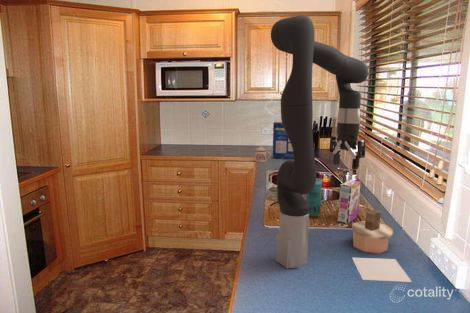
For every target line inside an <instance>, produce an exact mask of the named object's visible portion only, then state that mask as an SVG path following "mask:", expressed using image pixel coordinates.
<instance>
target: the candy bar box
mask: <svg viewBox="0 0 470 313" xmlns="http://www.w3.org/2000/svg"><path fill="white" fill-rule="evenodd" d="M361 182H362V181H359V180H354V179H349V180H347V181H345V182H343V183H340V184H339V195H338V196H339V197H338V207H337V208H338V209H337V210H338V211H337V221H336V222H339V223H343V224H346V225H349V223H351V222H353V221H354V220H355V219H357V218H358V216H359V205H360V204H359V203H360V195H361V194H360V192H361V184H362V183H361Z"/></svg>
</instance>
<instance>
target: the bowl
mask: <svg viewBox="0 0 470 313" xmlns="http://www.w3.org/2000/svg"><path fill="white" fill-rule="evenodd" d="M389 239H390V237H389V238H385V239H373V238H367V237H363V236H361V235H358V234H356V233H355V232H353V235H352V246H353V247H354V248H355V249H357V250H359V251H362V252H365V253H372V254H373V253H374V254H381V253H383V252H387V251H388V249H389V247H388V246H389V242H390V241H389Z"/></svg>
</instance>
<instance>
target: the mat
mask: <svg viewBox="0 0 470 313" xmlns="http://www.w3.org/2000/svg"><path fill="white" fill-rule="evenodd" d="M351 259H352V261H353V263H354V265H355V267H356V269H357V271H358V273H359V276H360V277H361V279H362V281H379V282H397V283H398V282H401V283H402V282H403V283H413V282H412V279H411V278H410V277H409V275H408V274H407V273H406V271H405V270H404V269H403V268H402V266H401V265H400V264H399V262H398V261H397V259H395V258H376V257H375V258H374V257H372V258H371V257H351Z"/></svg>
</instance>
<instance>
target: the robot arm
mask: <svg viewBox="0 0 470 313" xmlns="http://www.w3.org/2000/svg"><path fill="white" fill-rule="evenodd" d="M270 38H271V39H270V40H271V42H272V45H273V46H274V48H275V49H276V50H278V51H281V52H283V53H286V54H290V55H292V66H291V71H290V74H289V77H288V79H287V81H286V84H285V86H284V88H283V90H282V93H281V96H280V119H281V122H282V124H283V127H284V129H285V132H286V134H287V136H288V138H289V140H290V143H291V145H292V148H293V154H294V159H288V160H286V161H284V162H282V163H281V165H280V167H279V169H278V171H277V176H276V184H277V185H276V188H277V190H276V192H277V195H276V196H277V203H278V205H279V225H278V227H279V229H278V233H277V234H276V241H275V262H276V263H278V264H280V265H281V266H283V267H284V268H285V269H287V270H288V269H298V268H300V267H304V266H306V265H307V264H308V247H309V246H308V245H309V223H310V222H309V221H310V215H309V204H308V202H307V201H306V198H305V197H304V195H306V194H308V193H310V192H311V191H312V190H313V188H314V186H315V183H316V179H317V178H316V172H317V167H316V158H315V151H314V150H315V149H314V134H313V132H314V131H313V116H314V115H313V114H314V113H313V109H314V108H313V66H314V65H316V66H318V67H319V68H321V69H323V70H325V71H327V72H328V73H329V74H332V75H334V76H335V81H336V85H337V90H338V95H339V102H338V112H337V117H336V118H337V122H336V135H331V136H330V140H329V150H328V151H329V152H330V153H332V154H333V160H332V161H333V165H335V166H337V165H338V166H339V165H340V163H341V162H340V161H341V153H342V151H347V152H348V153H349V154H351V156H352V162H351V170H354V171H356V170H358V169H359V167H360V159H363V158H365V157H366V140H365V139H360V140H359V138H358V137H359V135H360V128H361V127H360V126H361V125H360V124H361V102H362V101H361V100H362V94H361V92H360V91H358V90H355V89H352V85H351V84H362V83H363V82H365V81H366V80H367V78H368V76H369V68H368V66H367V65H366V62H363V61H362V60H360V59H357V58H355V57H352V56H348V55H345V54H344V53H343V52H342V51H340V50H339V49H337V48H335V47H334V46H331V45H328V44H326V43H322V42H319V41H316V40H315V27H314V23H313V21H312V19H311V18H310V16H308V15H306V14H302V15H301V14H299V15H295V16H290V17H286V18H282V19H279V20H277V21H276V22H275V23H274V24H273V25H272V27H271V31H270ZM313 64H314V65H313Z"/></svg>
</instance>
